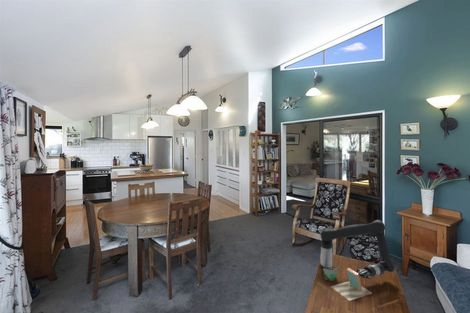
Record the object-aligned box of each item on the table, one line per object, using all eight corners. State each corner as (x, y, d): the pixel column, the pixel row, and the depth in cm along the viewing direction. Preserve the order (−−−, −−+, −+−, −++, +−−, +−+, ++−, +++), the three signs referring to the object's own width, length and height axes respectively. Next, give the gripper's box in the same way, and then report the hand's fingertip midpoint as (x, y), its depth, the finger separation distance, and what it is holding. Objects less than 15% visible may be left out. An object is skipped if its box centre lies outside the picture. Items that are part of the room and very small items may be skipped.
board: (330, 288, 184) (330, 286, 184) (352, 281, 192) (352, 280, 192) (349, 302, 168) (349, 300, 167) (372, 294, 175) (372, 293, 175)
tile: (349, 285, 185) (346, 269, 183) (352, 283, 186) (348, 267, 184) (359, 292, 177) (356, 275, 175) (362, 290, 178) (358, 273, 176)
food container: (327, 284, 190) (327, 271, 189) (323, 279, 196) (323, 267, 195) (341, 282, 192) (341, 269, 191) (336, 277, 198) (336, 266, 197)
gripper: (364, 262, 193) (348, 266, 187) (379, 270, 180) (362, 275, 174) (364, 271, 193) (348, 275, 187) (379, 279, 181) (362, 285, 175)
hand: (355, 275), depth 181 cm, fingers closed
